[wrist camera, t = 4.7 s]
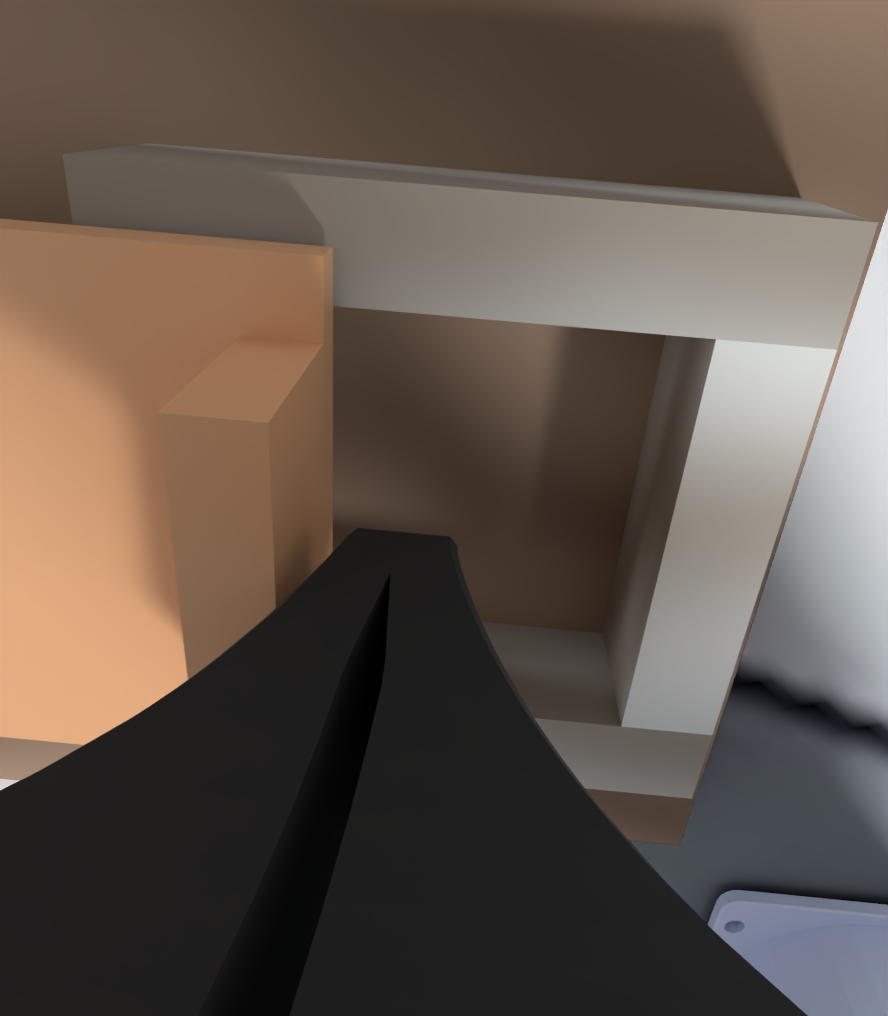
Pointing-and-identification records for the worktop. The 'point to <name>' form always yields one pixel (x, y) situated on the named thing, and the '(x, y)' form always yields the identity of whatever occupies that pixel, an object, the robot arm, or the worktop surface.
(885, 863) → the worktop surface
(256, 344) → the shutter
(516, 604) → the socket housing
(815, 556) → the worktop surface
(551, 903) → the robot arm
